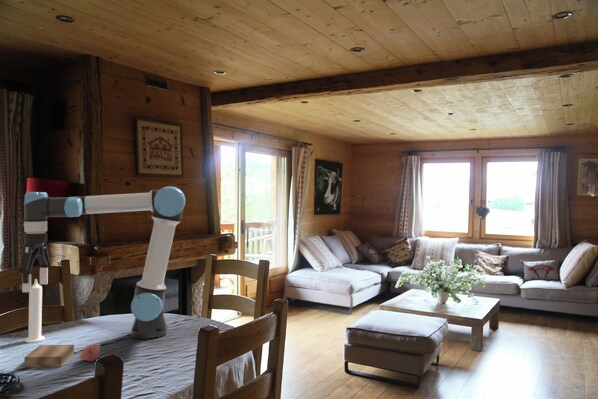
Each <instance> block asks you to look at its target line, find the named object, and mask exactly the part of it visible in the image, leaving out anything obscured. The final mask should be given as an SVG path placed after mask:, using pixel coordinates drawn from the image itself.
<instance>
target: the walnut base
mask: <svg viewBox="0 0 598 399" xmlns="http://www.w3.org/2000/svg"><path fill="white" fill-rule="evenodd" d="M74 355H75V344H45V345H44V344H42V345H41V344H40V345H39V346H37V347H36V348H35V349H33V350H32V351H30V352H29V353H27V355H26V356H24V368H54V367H56V368H59V367H62V366H63V365H65V364H66V362H68V361H69V360H70V358H72V357H73V356H74Z"/></svg>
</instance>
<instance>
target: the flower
mask: <svg viewBox="0 0 598 399" xmlns="http://www.w3.org/2000/svg"><path fill="white" fill-rule="evenodd" d="M100 348H101V344H100V343H98V342H96V343H93V344H89V345H86V347H85V348H84V349H82V352H80V354H79V355H78V356H79V357H78V358H79V359H80V360H82V361H83V360H85V361H88V362H92V361H95V360H97V359H98V358H99V356H100V354H101V353H100Z"/></svg>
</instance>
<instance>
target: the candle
mask: <svg viewBox="0 0 598 399" xmlns="http://www.w3.org/2000/svg"><path fill="white" fill-rule="evenodd" d="M28 296H29V297H28V335H27V336H28V337H26V338H24V342H25V343H27V344H34V343H39V342H40V343H41V342H43V341H45V339H46V338H45V336H44V335H42V322H43V321H42V318H43V317H42V316H43V314H42V312H43V311H42V310H43V286H42V285H41V284H40V283H38V279H37V278H35V279H34V283H33V284H31V292H28Z"/></svg>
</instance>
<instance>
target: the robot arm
mask: <svg viewBox="0 0 598 399" xmlns="http://www.w3.org/2000/svg"><path fill="white" fill-rule="evenodd" d="M23 206H24V208H23V213H24V215H23V216H24V223H23V228H24V234H23V235H24V236H23V238H24V239H23V241H24V242H23V243H25V244H28V246H24V247H23V250H22V257H21V261H20V264H19V269H18V275H20V276H22V278H21V283H22V284H21V285H22V286H21V287H22V289H21V293H29V292H31V286H32V274H31V271H32V269H33V265H34V263H35V260H38V263H39V266H40V268H39V285H48V283H49V282H48V281H49V268H51V266H52V263H51V258H50V253H49V249H48V243H47V242H48V233H47V232H48V218H52V217H54V218H55V217H56V218H59V217H60V218H74V217H75V218H77V217H78V218H79V217H80V216H81V215H93V214H109V213H111V214H112V213H125V212H127V213H128V212H129V213H130V212H140V211H141V212H142V211H145V212H146V211H150V212H151V218H152V220H153V225H152V226H153V227H152V230H151V235H150V240H149V244H148V249H147V252H146V253H147V254H146V258H145V264H144V268H143V272H142V277H141V280H139V281H137V282H136V284H135V285H136V286H135V290H134V295H133V299H132V301H131V304H130V309H131V313H132V315H133V317H135V318H134V320H133V324H132V327H131V329H130V336H131V338H134V339H138V338H139V340H150V339H149V338H153V339H156V338H155V337H158V338H161V337H160V336H162V335H164V336H166V335H167V334H168V333H167V332H169V331H168V330H169V329H168V325H167V324H168V323H167V321H166V317H165V295H166V291H167V286H166V285H165V278H166V272H167V268H168V264H169V259H170V255H171V250H172V246H173V240H174V236H175V231H176V227H177V225H178V224H180V223H181V222H182V218H183V213H184V208H185V206H186V196H185V194H184V193H183V191H182V190H181V189H180V188H178V187H175V186H172V185H171V186H170V185H168V186H164V187H162V188H159V189H152V190H150V191H149V192H138V193H137V192H136V193H121V194H101V195H100V194H99V195H98V194H97V195H86V196H80V195H79V196H67V197H63V196H62V197H59V196H58V197H50V196H49V195H48V193H47V192H45V191H44V192H43V191H42V192H41V191H38V192H37V191H26V193H24V202H23ZM166 333H167V334H166ZM165 334H166V335H165ZM162 337H163V336H162Z"/></svg>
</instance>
